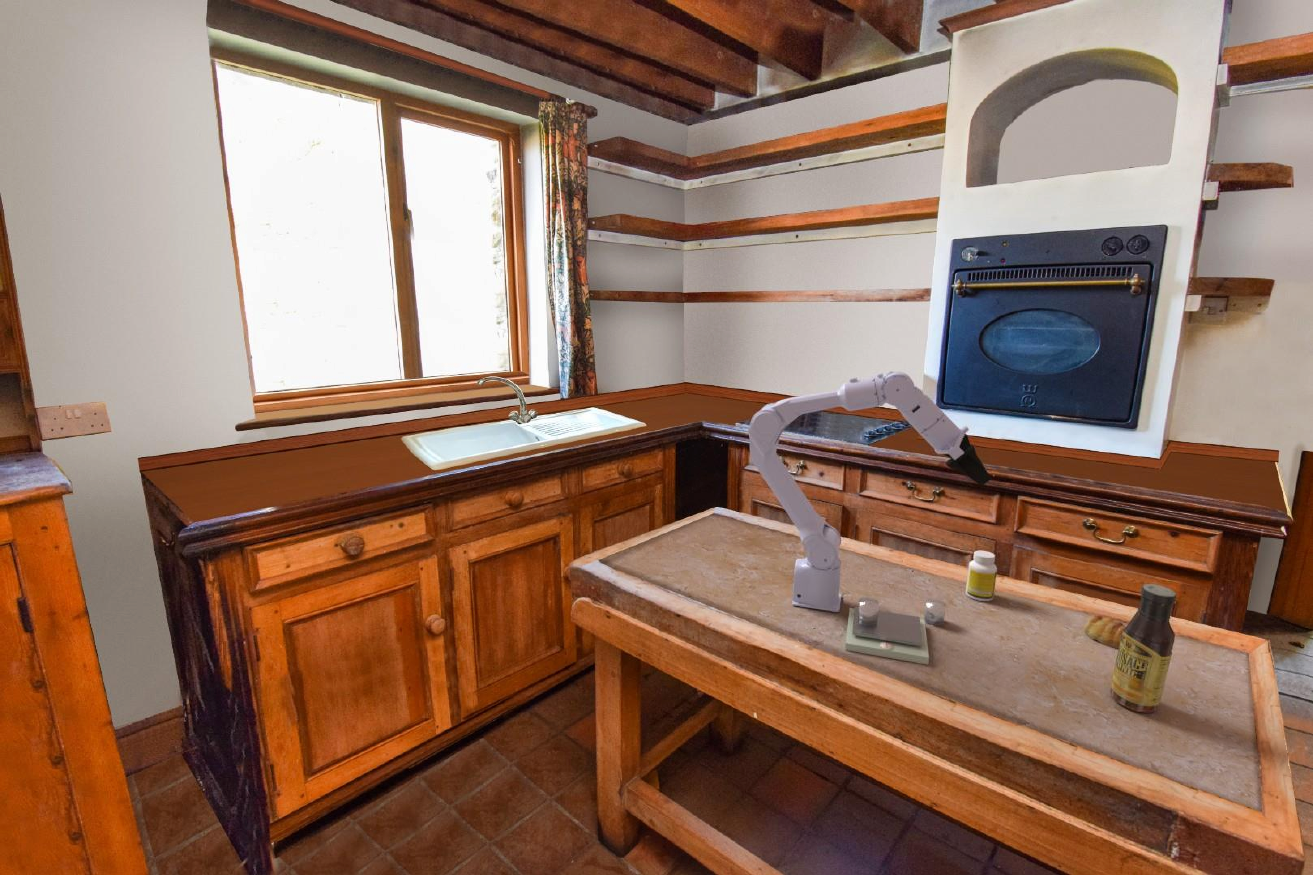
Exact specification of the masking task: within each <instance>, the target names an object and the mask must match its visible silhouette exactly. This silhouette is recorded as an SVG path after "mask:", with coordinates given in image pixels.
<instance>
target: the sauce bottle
mask: <svg viewBox="0 0 1313 875" xmlns="http://www.w3.org/2000/svg"><path fill="white" fill-rule="evenodd" d="M1140 595H1141V599H1140V603H1139V606H1138V608H1137V611H1136V612H1135V614H1134V615H1133V617H1132V618H1131V619H1130V621H1129V622H1128V623H1127V625H1125V626H1126V628H1125V629H1124V630H1123V633H1122V637H1121V642H1120V646H1119V649H1118V651H1117V656H1116V659H1115V664H1114V669H1113V674H1112V678H1111V683H1110V686H1111V687H1110V694H1111V697H1112V698H1113V700H1114V701H1115V702H1116V703H1117V704H1119V705H1120V706H1123V707H1125V708H1126V709H1128V710H1130V711H1132V712H1136V713H1144V714H1148V713H1150V714H1151V713H1153V712H1155V711H1156V710H1157V709H1158V707H1159V704H1161V703H1160V702H1161V700H1162V699H1161V698H1162V695H1163V692H1164V688H1165V683H1166V677H1167V675H1168V670H1169V667H1170V662H1171V659H1172V655H1173V646H1174V643H1175V637H1176V634H1175V632H1174V629H1173V627H1172V626H1171V623H1170V619H1171V612H1172V607H1173V605H1174V604H1175V602H1176V599H1177V593H1176V592H1175V591H1174V590H1173V589H1172V588H1168V587H1166V586H1164V585H1159V584H1154V583H1146V584H1143V585H1142V587H1141V591H1140Z"/></svg>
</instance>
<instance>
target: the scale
mask: <svg viewBox="0 0 1313 875" xmlns="http://www.w3.org/2000/svg"><path fill="white" fill-rule="evenodd" d="M854 611H855V607H854V608H853V607H849V612H848V619H847V620H848V621H847V628H846V635H845V636H846V637H845V644H844V646H845V647H844V649H845V651H849V652H855V653H856V652H857V653H861V654H867V655H872V656H878V657H883V658H889V659H893V660H900V661H906V662H911V663H915V664H916V663H917V664H922V665H927V666H929V660H930V656H929V647H928V638H927V630H926V623H925V621H924V618H923V619H922V618H920V624H921V634H922V643H923V644H922V646H916V645H910V644H904V643H898V642H893V641H887V640H881V639H875V638H869V637H863V636H857V635H852V631H853V621H854Z"/></svg>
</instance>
